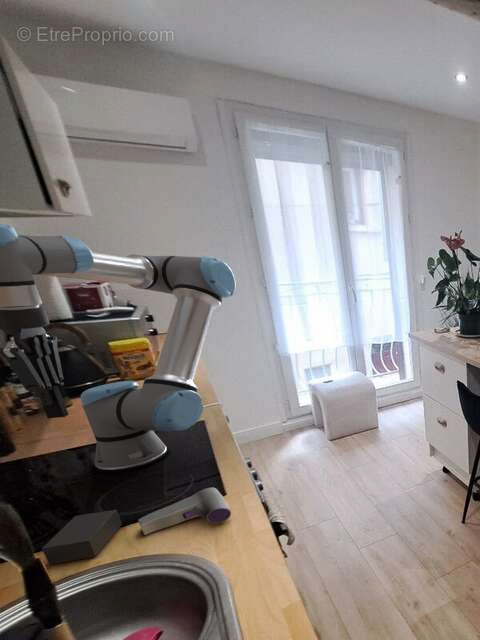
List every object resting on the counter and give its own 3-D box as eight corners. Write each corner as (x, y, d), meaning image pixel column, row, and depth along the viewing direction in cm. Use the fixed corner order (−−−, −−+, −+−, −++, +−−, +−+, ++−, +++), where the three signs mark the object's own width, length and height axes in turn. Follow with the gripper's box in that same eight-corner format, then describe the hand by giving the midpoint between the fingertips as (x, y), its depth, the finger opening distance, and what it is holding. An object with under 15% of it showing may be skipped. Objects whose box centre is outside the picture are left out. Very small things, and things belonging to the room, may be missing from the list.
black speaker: (75, 515, 89) (41, 548, 79) (116, 509, 92) (88, 540, 82) (82, 531, 90) (49, 565, 81) (122, 525, 93) (95, 557, 83)
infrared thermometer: (142, 530, 93) (220, 498, 103) (154, 555, 86) (236, 518, 96) (134, 514, 91) (214, 483, 102) (146, 538, 84) (230, 503, 95)
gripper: (12, 303, 85) (54, 407, 93) (-41, 312, 74) (12, 430, 82) (60, 302, 88) (97, 404, 96) (17, 311, 77) (62, 426, 85)
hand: (58, 416), depth 89 cm, fingers closed
